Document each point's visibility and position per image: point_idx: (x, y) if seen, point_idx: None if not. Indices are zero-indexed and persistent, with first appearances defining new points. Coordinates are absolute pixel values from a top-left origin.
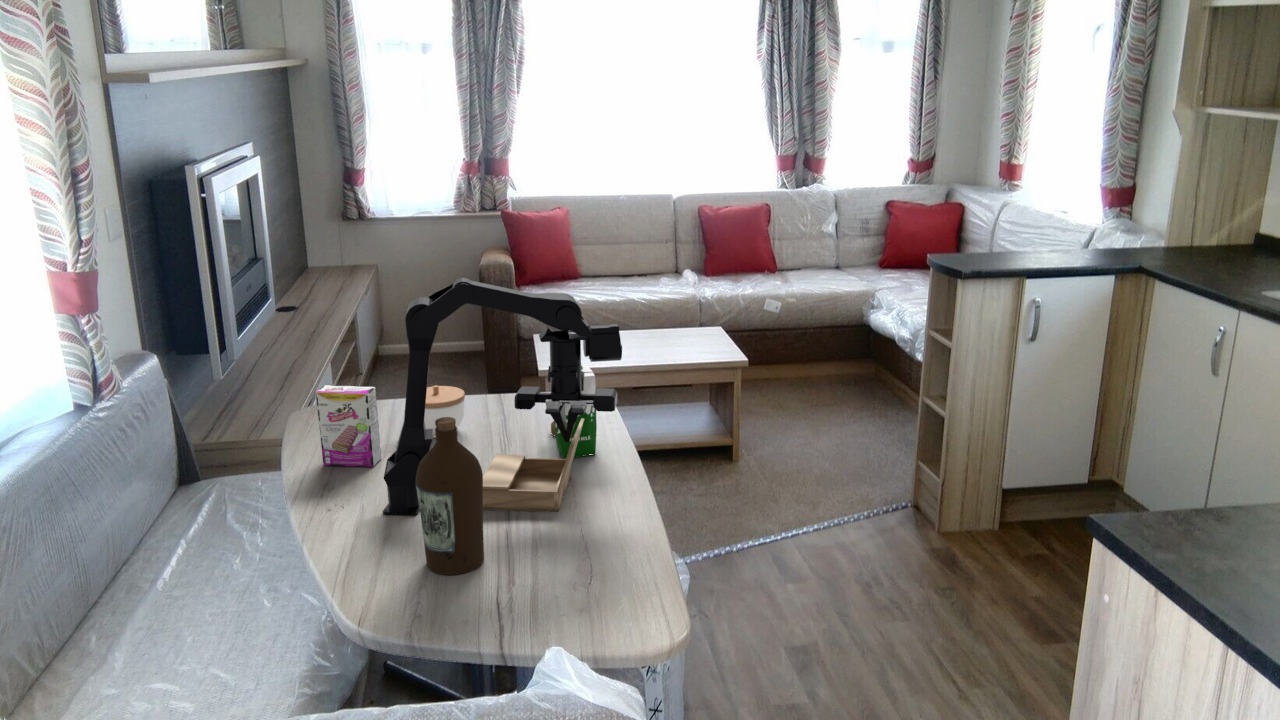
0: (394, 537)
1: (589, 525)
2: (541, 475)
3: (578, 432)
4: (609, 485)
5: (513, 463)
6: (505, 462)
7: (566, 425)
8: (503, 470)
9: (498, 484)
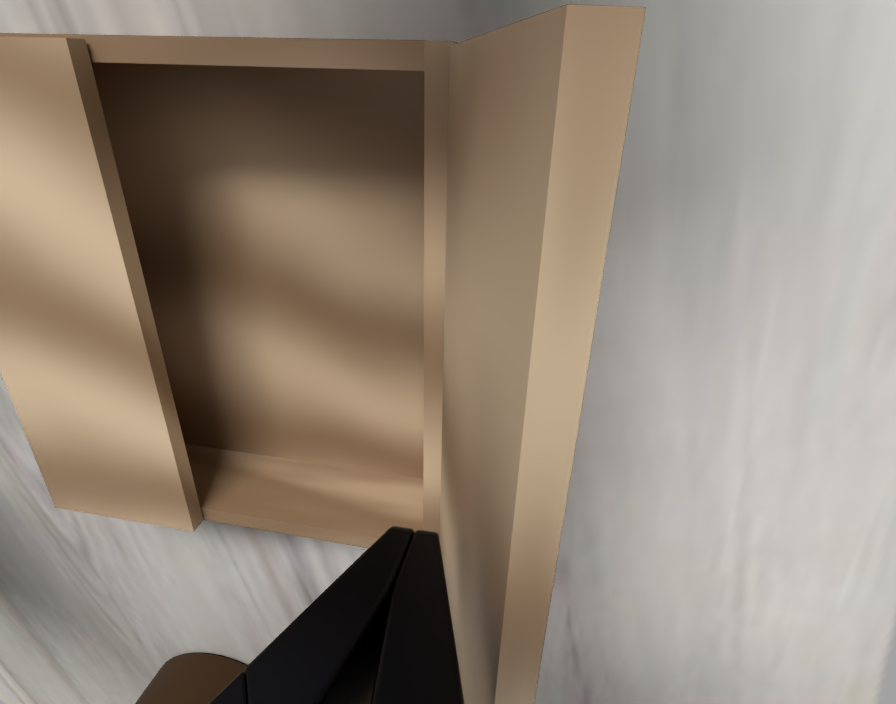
0: (7, 573)
1: (601, 596)
2: (279, 75)
3: (534, 657)
4: (750, 190)
5: (71, 229)
6: (14, 207)
7: (343, 686)
8: (71, 339)
9: (137, 503)
